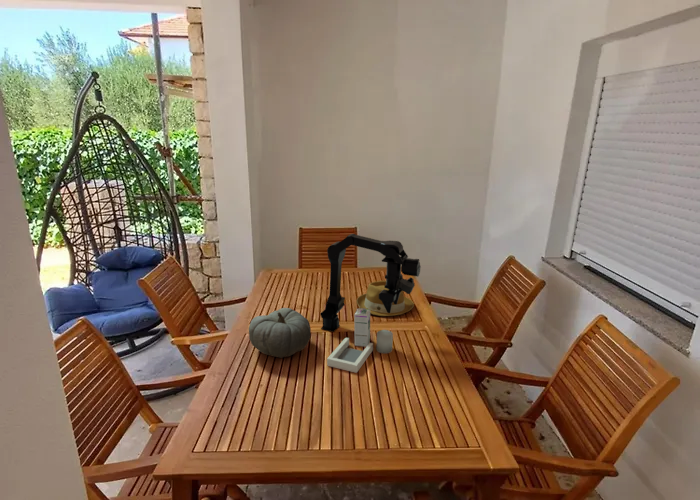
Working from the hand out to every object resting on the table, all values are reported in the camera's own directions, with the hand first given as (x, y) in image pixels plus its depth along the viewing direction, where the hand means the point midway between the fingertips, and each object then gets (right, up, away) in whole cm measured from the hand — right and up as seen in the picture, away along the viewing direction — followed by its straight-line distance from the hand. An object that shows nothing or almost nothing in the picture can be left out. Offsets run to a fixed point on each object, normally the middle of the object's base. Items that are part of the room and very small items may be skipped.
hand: (392, 308), depth 169 cm
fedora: (0, -5, +38) cm, 38 cm away
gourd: (-45, -16, -2) cm, 48 cm away
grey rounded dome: (-3, -16, -3) cm, 17 cm away
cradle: (-17, -18, -8) cm, 26 cm away
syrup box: (-12, -15, +2) cm, 19 cm away
